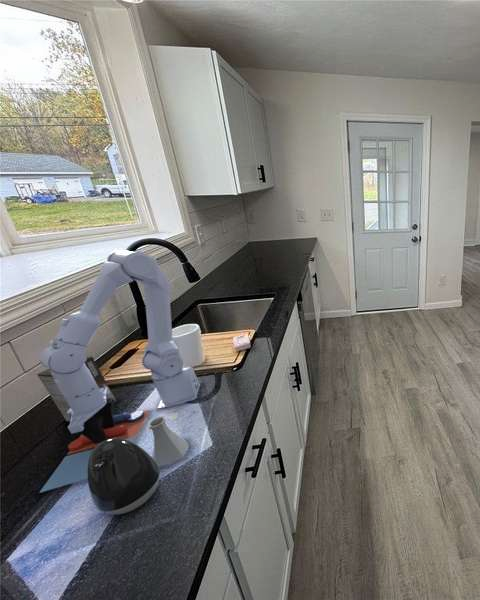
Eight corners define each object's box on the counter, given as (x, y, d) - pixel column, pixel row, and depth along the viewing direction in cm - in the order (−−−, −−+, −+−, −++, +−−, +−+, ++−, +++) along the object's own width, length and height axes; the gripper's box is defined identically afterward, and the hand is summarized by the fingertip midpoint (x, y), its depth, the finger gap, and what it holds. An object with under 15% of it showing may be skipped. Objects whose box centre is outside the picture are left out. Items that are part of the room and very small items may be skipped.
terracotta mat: (149, 411, 88) (149, 410, 88) (137, 436, 80) (136, 435, 79) (88, 427, 84) (87, 426, 84) (67, 456, 75) (66, 454, 75)
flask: (149, 473, 69) (132, 439, 65) (156, 449, 75) (140, 417, 71) (187, 459, 72) (173, 425, 68) (190, 437, 78) (177, 406, 74)
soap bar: (235, 352, 115) (233, 346, 114) (234, 342, 123) (232, 336, 122) (251, 348, 117) (249, 342, 117) (249, 338, 125) (247, 332, 124)
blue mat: (136, 438, 79) (135, 436, 79) (120, 469, 70) (119, 468, 70) (66, 457, 75) (65, 456, 74) (39, 494, 66) (38, 492, 66)
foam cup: (199, 369, 106) (187, 336, 101) (173, 371, 107) (159, 337, 102) (215, 354, 115) (204, 323, 110) (190, 355, 115) (179, 324, 110)
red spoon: (131, 427, 82) (127, 420, 81) (125, 436, 79) (122, 430, 78) (74, 442, 78) (70, 435, 78) (66, 453, 75) (61, 446, 74)
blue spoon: (86, 434, 81) (83, 428, 80) (93, 425, 84) (89, 418, 83) (141, 420, 85) (138, 413, 84) (146, 411, 88) (143, 405, 87)
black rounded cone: (93, 535, 57) (53, 476, 52) (114, 487, 66) (82, 433, 61) (158, 510, 61) (128, 453, 55) (170, 468, 70) (145, 415, 64)
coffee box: (100, 399, 94) (76, 354, 88) (117, 401, 93) (94, 355, 87) (65, 422, 86) (35, 373, 80) (83, 424, 85) (54, 375, 79)
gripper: (75, 378, 79) (99, 420, 84) (39, 416, 66) (69, 462, 71) (110, 370, 81) (130, 411, 86) (81, 406, 68) (107, 451, 74)
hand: (105, 434), depth 79 cm, fingers open, 4 cm apart
